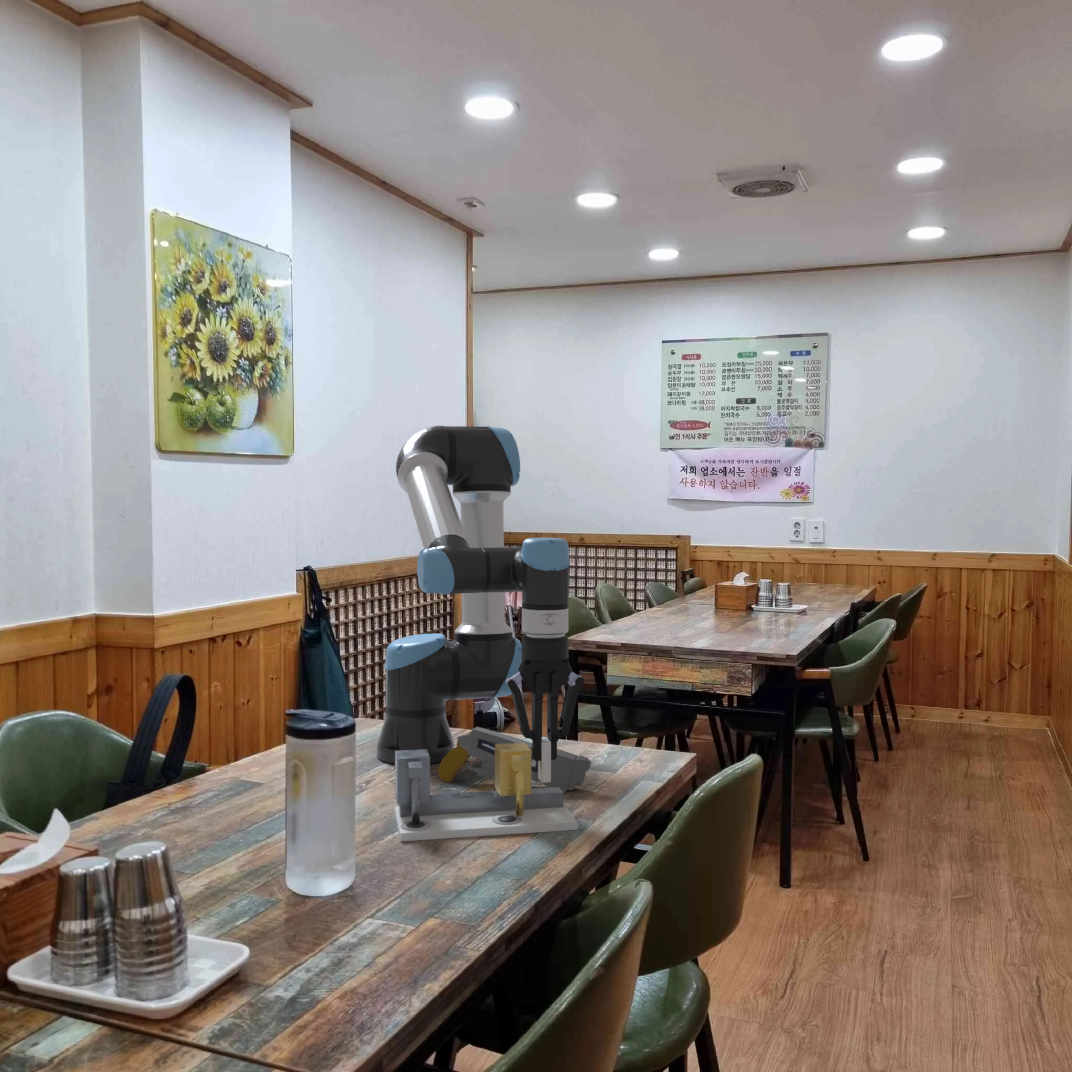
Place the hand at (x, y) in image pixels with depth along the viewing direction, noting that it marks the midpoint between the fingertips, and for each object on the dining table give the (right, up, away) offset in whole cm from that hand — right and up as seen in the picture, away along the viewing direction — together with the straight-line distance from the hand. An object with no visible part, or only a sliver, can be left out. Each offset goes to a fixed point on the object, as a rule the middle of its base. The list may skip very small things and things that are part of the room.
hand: (544, 779), depth 162 cm
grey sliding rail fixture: (-10, -4, -4) cm, 11 cm away
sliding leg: (-5, -4, -3) cm, 7 cm away
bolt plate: (-9, -6, -4) cm, 12 cm away
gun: (-5, -5, +15) cm, 17 cm away
